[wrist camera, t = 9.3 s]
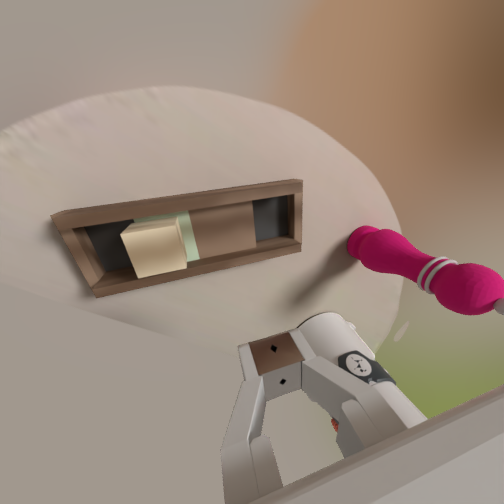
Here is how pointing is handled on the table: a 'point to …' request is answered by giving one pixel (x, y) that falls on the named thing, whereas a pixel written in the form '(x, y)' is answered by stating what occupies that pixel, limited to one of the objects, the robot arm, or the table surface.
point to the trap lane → (187, 232)
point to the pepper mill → (430, 271)
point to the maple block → (155, 246)
